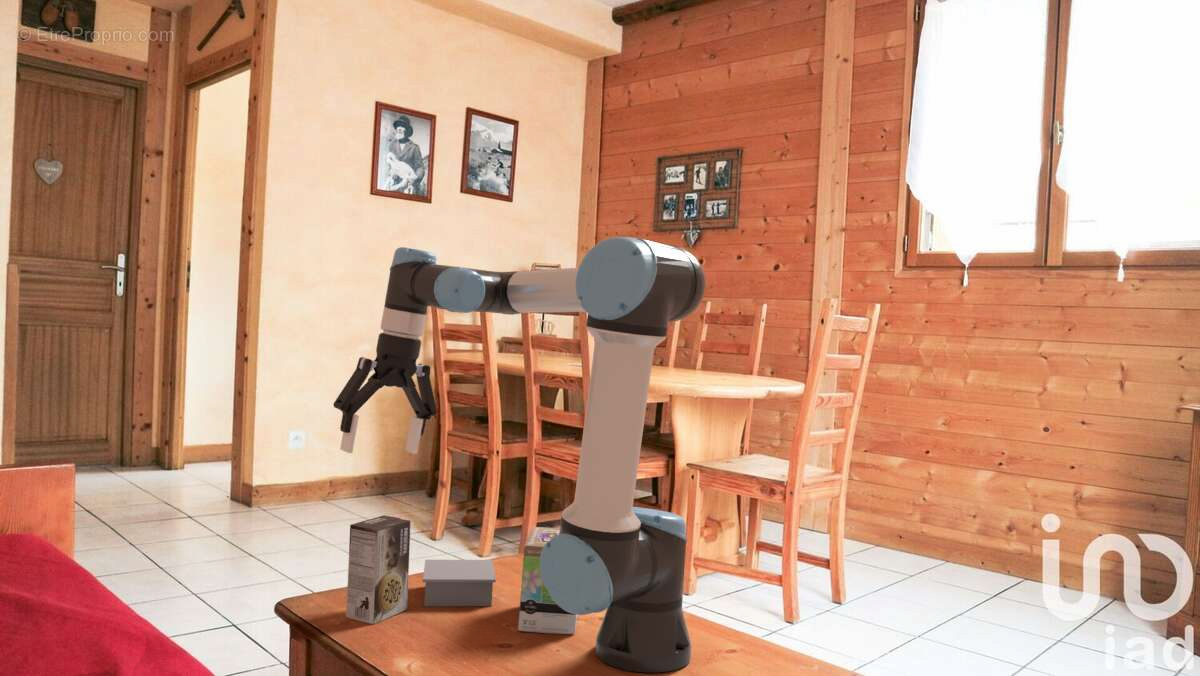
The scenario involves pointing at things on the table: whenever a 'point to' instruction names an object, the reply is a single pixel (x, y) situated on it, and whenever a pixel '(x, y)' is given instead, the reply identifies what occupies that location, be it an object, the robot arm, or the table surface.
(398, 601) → the coffee box
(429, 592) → the grey plinth
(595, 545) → the robot arm
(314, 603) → the table surface
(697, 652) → the table surface
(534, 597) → the tea box
